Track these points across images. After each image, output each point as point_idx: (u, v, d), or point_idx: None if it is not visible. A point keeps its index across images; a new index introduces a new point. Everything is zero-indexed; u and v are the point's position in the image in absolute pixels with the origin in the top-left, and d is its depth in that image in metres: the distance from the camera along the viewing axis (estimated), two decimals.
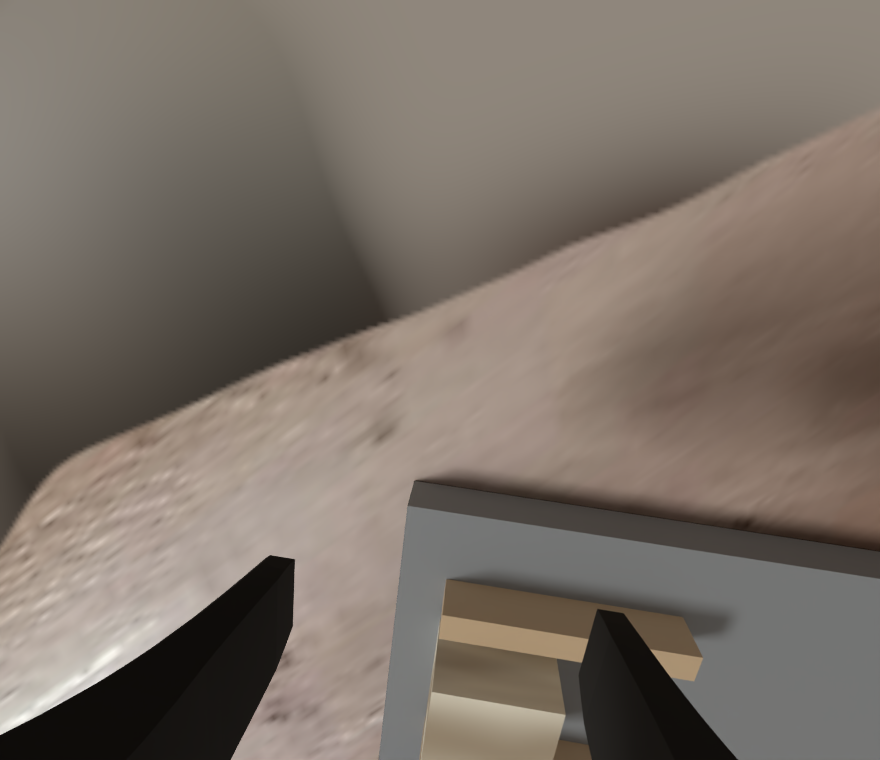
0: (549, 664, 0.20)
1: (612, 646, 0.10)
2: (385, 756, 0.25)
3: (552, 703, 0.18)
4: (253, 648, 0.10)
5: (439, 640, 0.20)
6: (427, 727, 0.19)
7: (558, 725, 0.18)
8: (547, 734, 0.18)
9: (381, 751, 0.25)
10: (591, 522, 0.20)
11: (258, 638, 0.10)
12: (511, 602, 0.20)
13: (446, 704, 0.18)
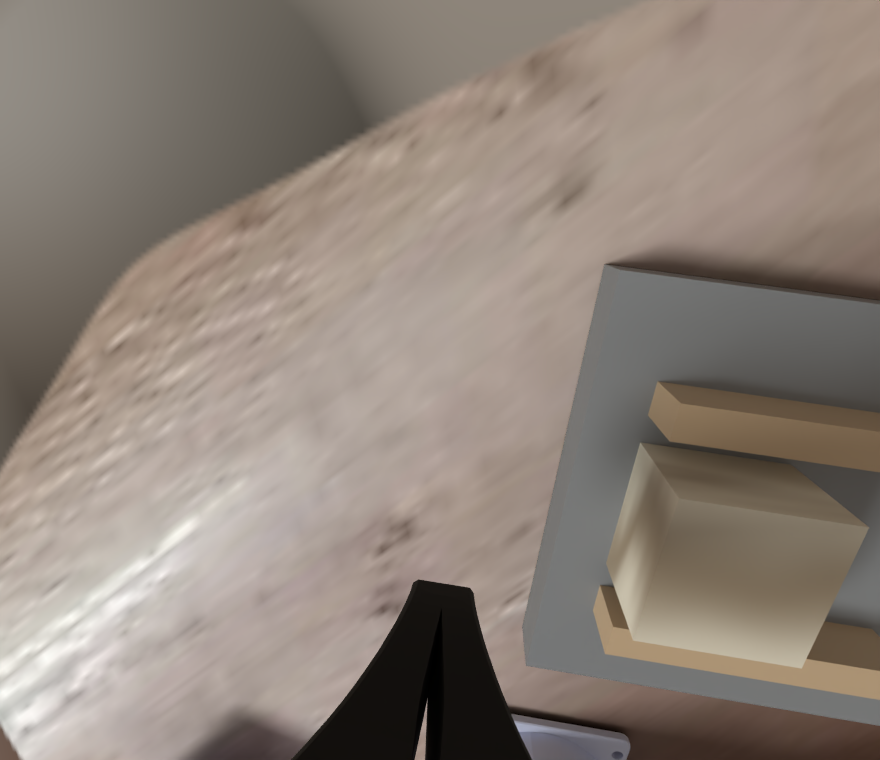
0: (807, 484, 0.15)
1: (441, 617, 0.10)
2: (539, 642, 0.20)
3: (842, 516, 0.13)
4: (427, 678, 0.10)
5: (653, 458, 0.15)
6: (662, 555, 0.14)
7: (855, 544, 0.13)
8: (835, 559, 0.13)
9: (535, 636, 0.19)
10: (858, 299, 0.15)
11: (430, 667, 0.10)
12: (756, 402, 0.15)
13: (697, 517, 0.13)
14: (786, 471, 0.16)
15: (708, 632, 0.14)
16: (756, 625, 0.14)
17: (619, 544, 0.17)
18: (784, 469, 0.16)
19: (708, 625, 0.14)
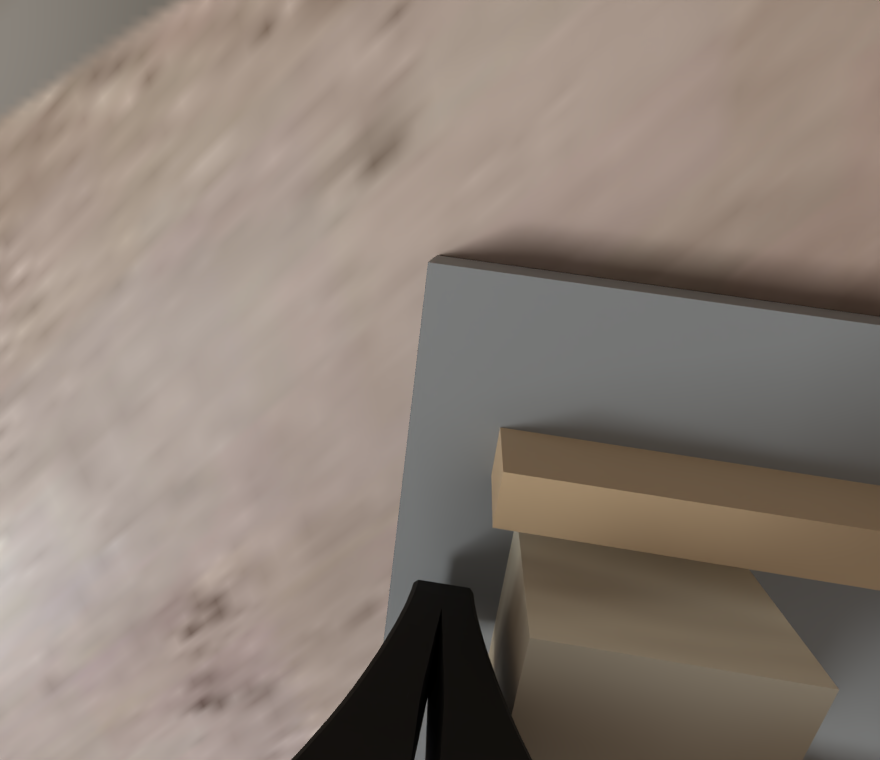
0: (751, 592, 0.10)
1: (441, 617, 0.10)
2: None
3: (797, 664, 0.08)
4: (428, 678, 0.10)
5: (523, 547, 0.10)
6: (513, 718, 0.09)
7: (817, 713, 0.08)
8: (785, 733, 0.08)
9: None
10: (792, 309, 0.10)
11: (430, 667, 0.10)
12: (636, 463, 0.10)
13: (561, 665, 0.08)
14: (725, 565, 0.11)
15: None
16: None
17: (492, 658, 0.12)
18: None
19: None
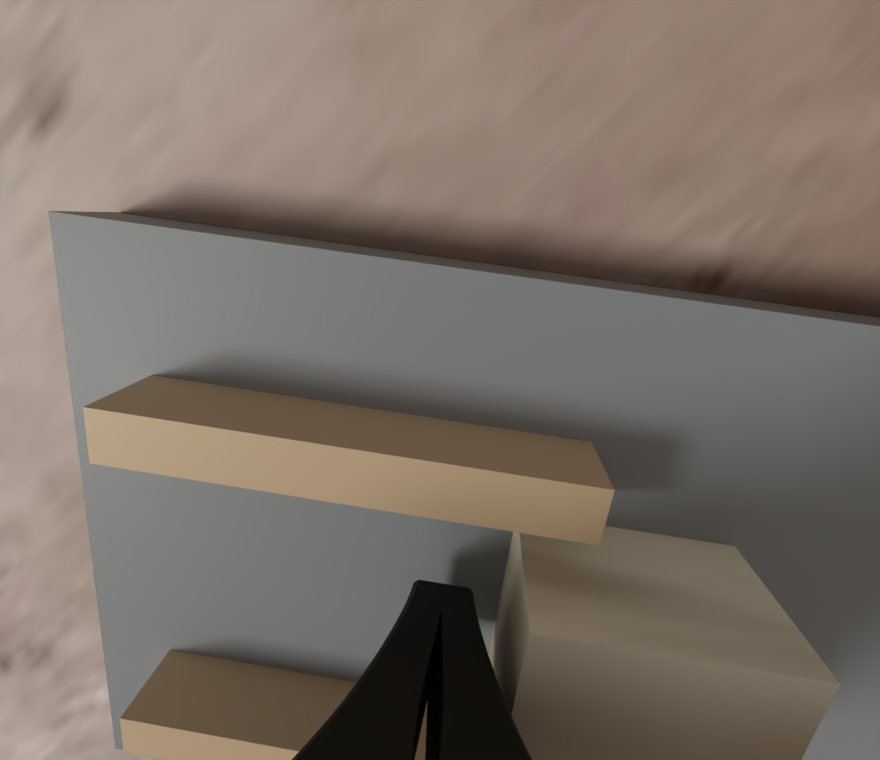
0: (751, 587, 0.10)
1: (440, 617, 0.10)
2: None
3: (798, 659, 0.08)
4: (427, 679, 0.10)
5: (524, 543, 0.10)
6: (513, 714, 0.09)
7: (818, 708, 0.08)
8: (786, 728, 0.08)
9: (114, 712, 0.15)
10: (416, 258, 0.11)
11: (430, 667, 0.10)
12: (254, 405, 0.10)
13: (561, 661, 0.08)
14: (725, 560, 0.11)
15: None
16: None
17: (493, 655, 0.12)
18: (723, 555, 0.11)
19: None
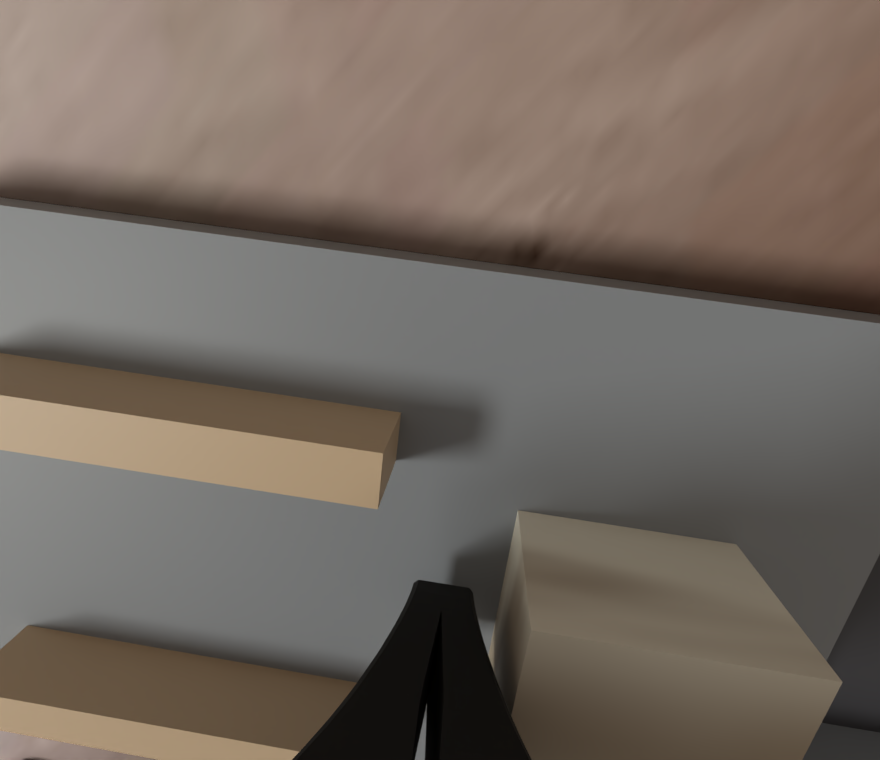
0: (753, 585, 0.10)
1: (440, 617, 0.10)
2: None
3: (800, 657, 0.08)
4: (428, 678, 0.10)
5: (524, 541, 0.10)
6: (514, 712, 0.09)
7: (820, 706, 0.08)
8: (788, 726, 0.08)
9: None
10: (226, 231, 0.11)
11: (430, 668, 0.10)
12: (62, 376, 0.10)
13: (563, 659, 0.08)
14: (726, 558, 0.11)
15: None
16: None
17: (493, 653, 0.12)
18: (724, 553, 0.11)
19: None
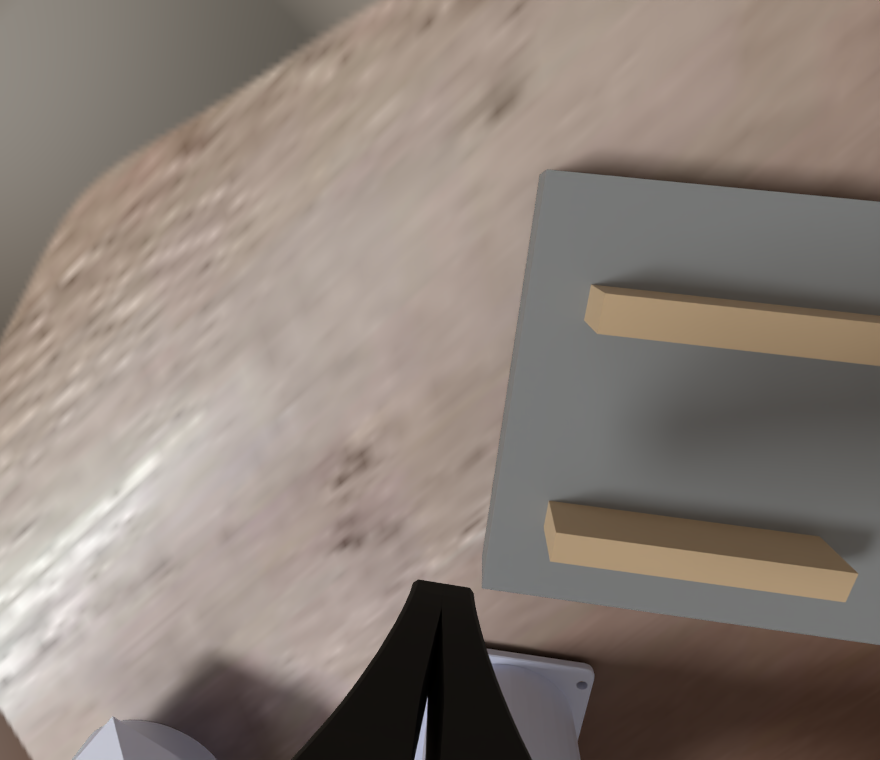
0: None
1: (441, 617, 0.10)
2: (493, 563, 0.20)
3: None
4: (427, 679, 0.10)
5: None
6: None
7: None
8: None
9: (489, 556, 0.20)
10: None
11: (430, 668, 0.10)
12: (685, 297, 0.15)
13: None
14: None
15: None
16: None
17: None
18: None
19: None
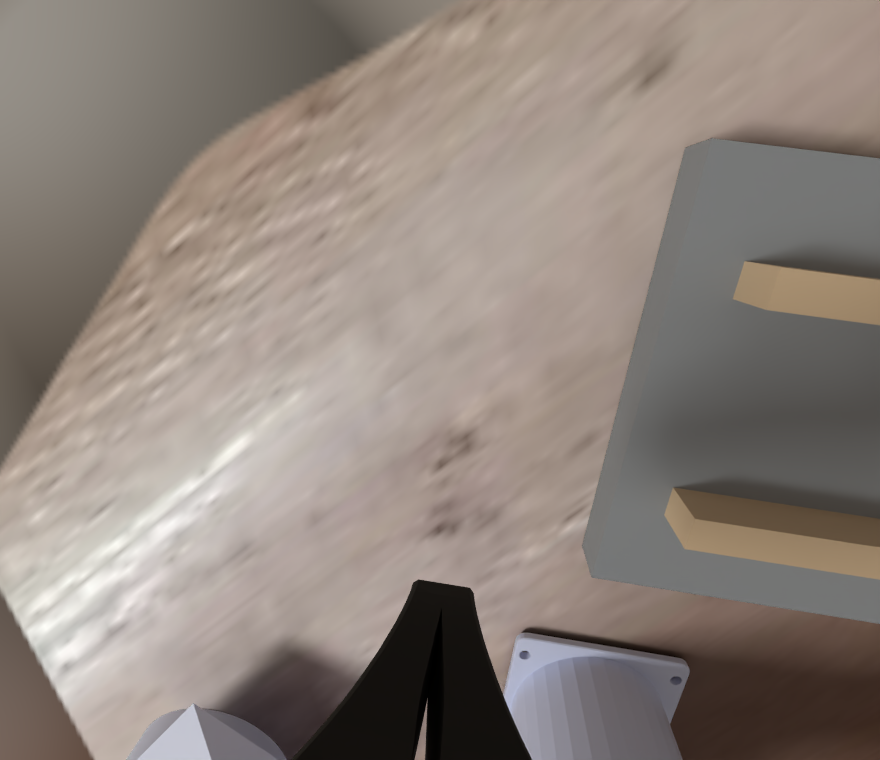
0: None
1: (441, 617, 0.10)
2: (606, 552, 0.19)
3: None
4: (427, 679, 0.10)
5: None
6: None
7: None
8: None
9: (603, 544, 0.19)
10: None
11: (430, 667, 0.10)
12: (851, 275, 0.15)
13: None
14: None
15: None
16: None
17: None
18: None
19: None
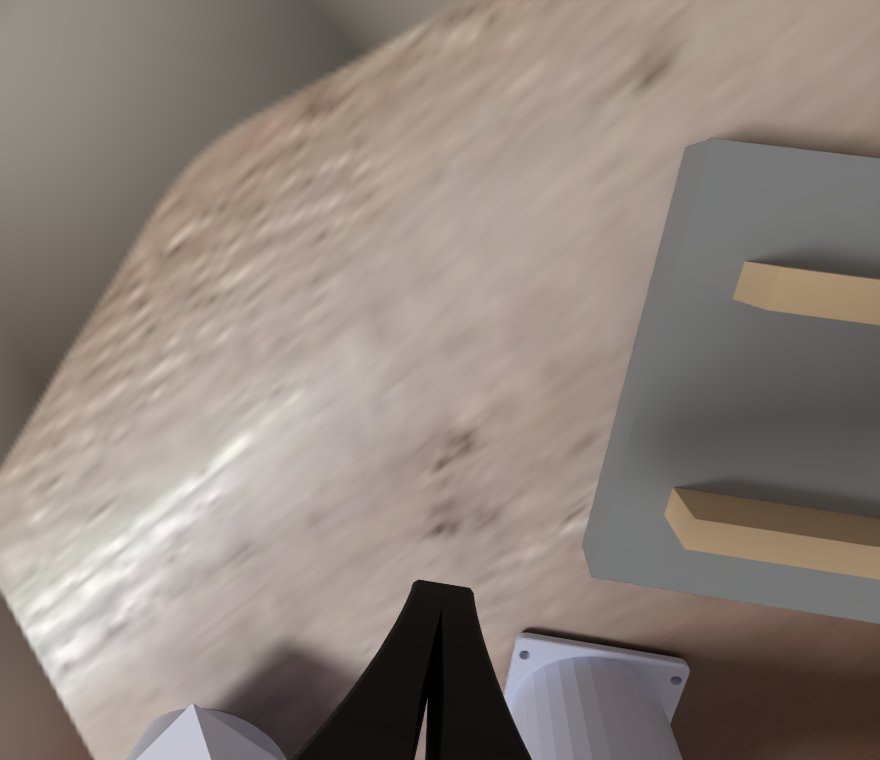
0: None
1: (441, 617, 0.10)
2: (606, 552, 0.19)
3: None
4: (427, 679, 0.10)
5: None
6: None
7: None
8: None
9: (603, 544, 0.19)
10: None
11: (430, 667, 0.10)
12: (851, 275, 0.15)
13: None
14: None
15: None
16: None
17: None
18: None
19: None
